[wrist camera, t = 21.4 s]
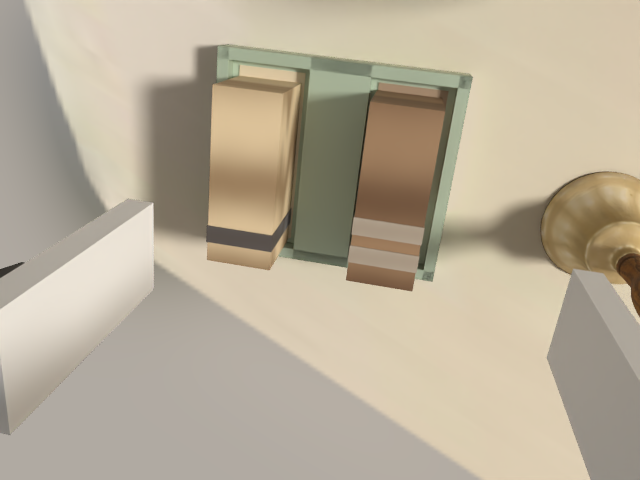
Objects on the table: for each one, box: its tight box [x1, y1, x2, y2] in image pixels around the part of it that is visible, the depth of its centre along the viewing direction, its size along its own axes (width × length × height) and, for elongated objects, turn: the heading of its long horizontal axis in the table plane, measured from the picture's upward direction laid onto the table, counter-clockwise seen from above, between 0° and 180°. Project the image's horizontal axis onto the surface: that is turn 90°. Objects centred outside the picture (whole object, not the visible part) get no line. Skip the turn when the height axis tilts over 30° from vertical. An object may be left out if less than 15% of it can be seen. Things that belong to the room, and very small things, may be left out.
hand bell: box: [541, 172, 640, 317], centre depth 35 cm, size 8×8×16 cm
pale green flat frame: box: [216, 44, 473, 281], centre depth 43 cm, size 15×17×2 cm
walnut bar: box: [346, 90, 445, 291], centre depth 40 cm, size 12×5×6 cm, turn 174°
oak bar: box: [206, 75, 302, 270], centre depth 41 cm, size 12×5×6 cm, turn 174°
